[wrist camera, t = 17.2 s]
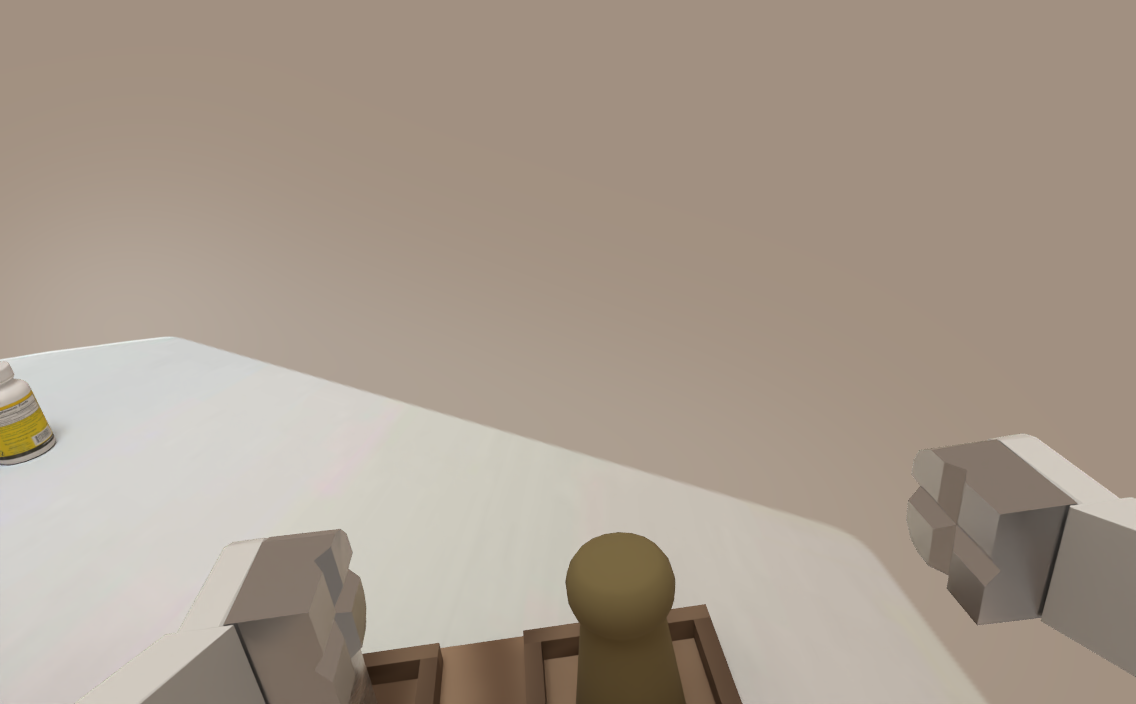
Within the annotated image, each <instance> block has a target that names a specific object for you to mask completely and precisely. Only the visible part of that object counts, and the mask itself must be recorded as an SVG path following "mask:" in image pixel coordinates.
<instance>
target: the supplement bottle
mask: <svg viewBox="0 0 1136 704" xmlns="http://www.w3.org/2000/svg"><path fill="white" fill-rule="evenodd" d="M13 377H14V373H13V370H12V368H11V367H10V365H9V363H8V362H5V361H0V464H7V465H9V464H16V463H20V462H24V461H27V460H30V459H32V458H35V457H37V456H39V455H41V454H43V453H44V452H46V451H48V450H49V449H50V448H51V447H52V446H53V445H54V443H55V436H54V434H53V432H52V430H51V428H50V426H49V424H48V422H47V420H46V418H45V416H44V414H43V412H42V410H41V408H40V406H39V404H38V402H37V400H36V398H35V396H34V394H33V392H32V390H31V388H30V386H29V384H28V383H27V382H25V381H23V380H21V379H13Z"/></svg>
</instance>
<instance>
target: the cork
mask: <svg viewBox="0 0 1136 704" xmlns="http://www.w3.org/2000/svg"><path fill="white" fill-rule="evenodd" d="M566 589H567V596H568V603H569V605H570V607H571V609H572V611H573V613H574V615H575V616H576V618H577V620H578V621H579V623H580V634H579V653H578V672H577V691H576V704H686V701H685V697H684V692H683V688H682V683H681V679H680V675H679V670H678V666H677V661H676V657H675V652H674V648H673V644H672V639H671V635H670V630H669V626H668V621H667V616H668V614H669V612H670V610H671V608H672V605H673V601H674V594H675V577H674V574H673V571H672V568H671V565H670V562H669V559H668V557H667V556H666V555H665V554H664V553H663V552H662V550H661V549H660V548H659V547H658V546H657V545H656V544H655V543H654V542H652V541H650V540H649V539H647V538H645V537H643V536H639V535H636V534H633V533H621V532H617V533H610V534H604V535H601V536H599V537H596V538H593V539H591V540H590V541H588V542H587V543H585V544H584V545H583V546H582V547H581V548H580V549H579V550H578V552H577V553H576V554H575V556H574V557H573V558H572V560H571V562H570V565H569V568H568V571H567V576H566Z"/></svg>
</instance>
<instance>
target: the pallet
mask: <svg viewBox="0 0 1136 704" xmlns="http://www.w3.org/2000/svg"><path fill="white" fill-rule="evenodd" d="M667 621H668V626H669V630H670V635H671V639H672V644H673V648H674V652H675V657H676V661H677V666H678V670H679V675H680V679H681V683H682V688H683V692H684V697H685V701H686V704H742V702H741V699H740V697H739V694H738V691H737V688H736V686H735V683H734V680H733V678H732V675H731V672H730V669H729V667H728V664H727V661H726V659H725V656H724V653H723V650H722V648H721V645H720V642H719V640H718V637H717V634H716V631H715V629H714V626H713V623H712V621H711V618H710V615H709V612H708V610H707V607H706V604H704V605H697V606H691V607H684V608H677V609H671V610H670V612H669V614H668V616H667ZM579 634H580V623H573V624H566V625H559V626H552V627H546V628H539V629H532V630H525V631H523V635H524V636H522V637H515V638H508V639H501V640H494V641H487V642H481V643H474V644H467V645H460V646H453V647H446V648H440V645H439V643H435V644H428V645H421V646H414V647H407V648H401V649H394V650H387V651H380V652H373V653H366V654H362V655H363V658H364V662H365V665H366V668H367V671H368V674H369V678H370V681H371V684H372V687H373V691H374V694H375V697H376V700H377V703H378V704H576V691H577V672H578V653H579Z"/></svg>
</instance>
